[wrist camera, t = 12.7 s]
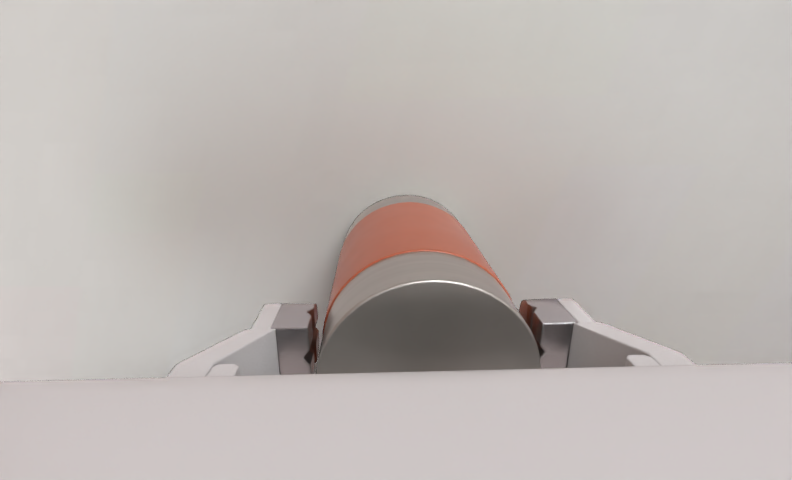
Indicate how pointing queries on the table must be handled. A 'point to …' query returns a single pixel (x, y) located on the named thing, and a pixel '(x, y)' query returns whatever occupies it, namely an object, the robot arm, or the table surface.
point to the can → (419, 298)
